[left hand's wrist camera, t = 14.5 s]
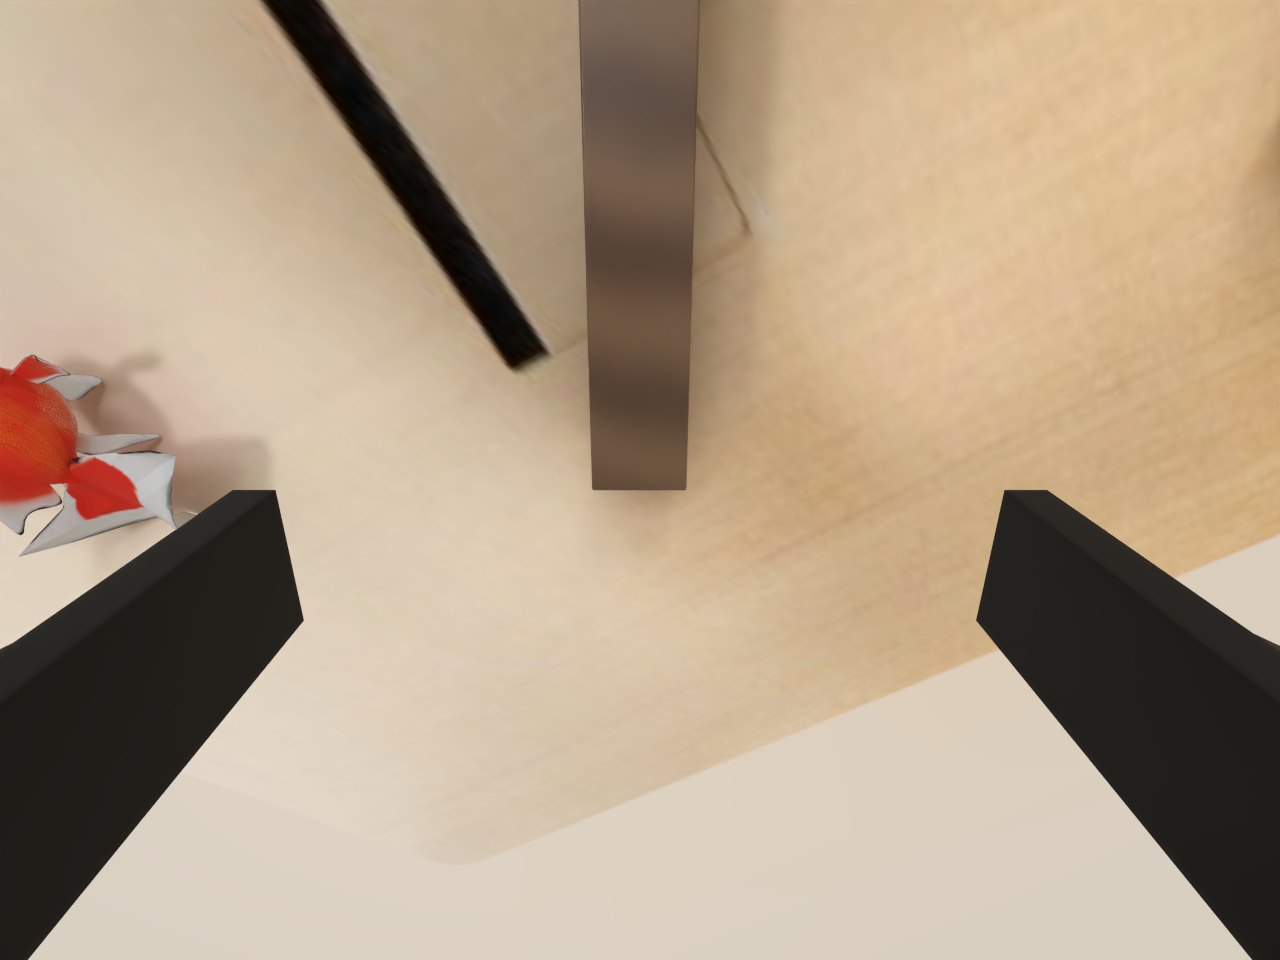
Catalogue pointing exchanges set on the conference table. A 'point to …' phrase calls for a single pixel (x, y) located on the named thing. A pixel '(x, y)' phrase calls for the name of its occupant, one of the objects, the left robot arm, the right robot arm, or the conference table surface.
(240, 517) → the left robot arm
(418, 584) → the conference table surface
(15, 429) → the fish
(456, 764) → the conference table surface
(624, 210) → the bar
